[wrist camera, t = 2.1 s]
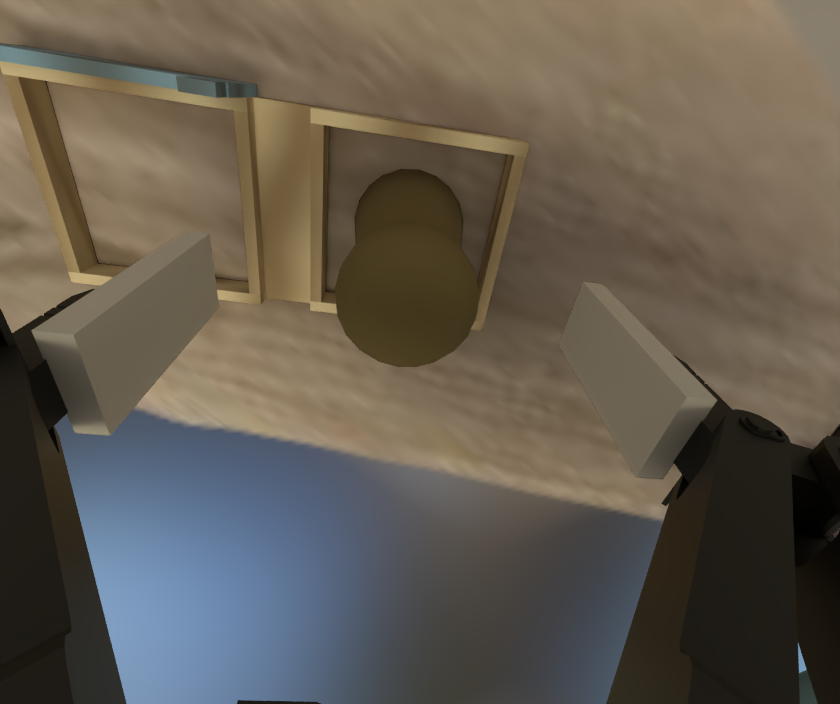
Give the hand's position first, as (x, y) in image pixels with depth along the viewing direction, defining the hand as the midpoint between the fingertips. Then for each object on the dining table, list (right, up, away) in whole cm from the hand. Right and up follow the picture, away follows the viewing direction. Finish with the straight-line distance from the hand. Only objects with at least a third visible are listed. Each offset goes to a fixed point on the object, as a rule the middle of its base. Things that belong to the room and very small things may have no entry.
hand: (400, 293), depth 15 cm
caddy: (-6, +6, +7) cm, 11 cm away
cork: (0, +5, +8) cm, 10 cm away
